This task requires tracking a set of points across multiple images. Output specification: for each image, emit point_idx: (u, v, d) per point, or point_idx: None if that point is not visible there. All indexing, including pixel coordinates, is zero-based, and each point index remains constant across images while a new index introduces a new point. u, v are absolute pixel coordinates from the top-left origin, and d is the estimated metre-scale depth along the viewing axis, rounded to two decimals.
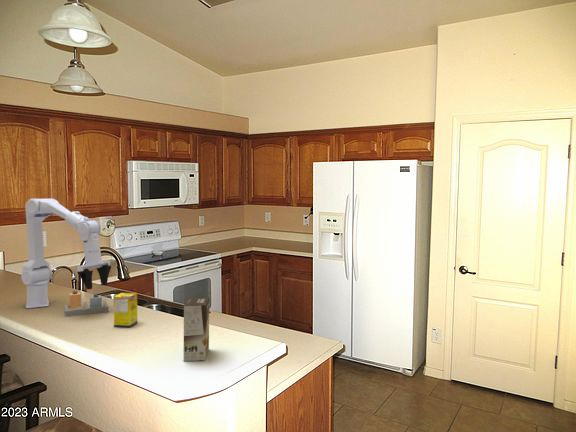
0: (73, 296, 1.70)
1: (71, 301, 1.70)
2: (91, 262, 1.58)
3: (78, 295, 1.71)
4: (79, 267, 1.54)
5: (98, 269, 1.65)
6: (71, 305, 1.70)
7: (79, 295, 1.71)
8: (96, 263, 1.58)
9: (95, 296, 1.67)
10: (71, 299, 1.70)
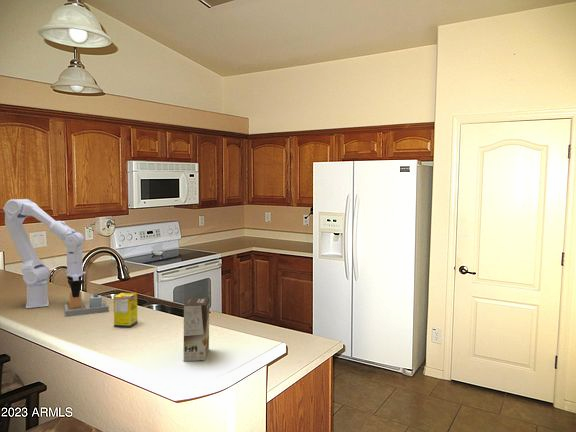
0: None
1: (71, 301, 1.70)
2: (78, 272, 1.70)
3: None
4: (76, 277, 1.66)
5: (69, 278, 1.74)
6: (71, 305, 1.70)
7: (79, 295, 1.71)
8: (82, 273, 1.72)
9: (95, 296, 1.67)
10: (71, 299, 1.70)
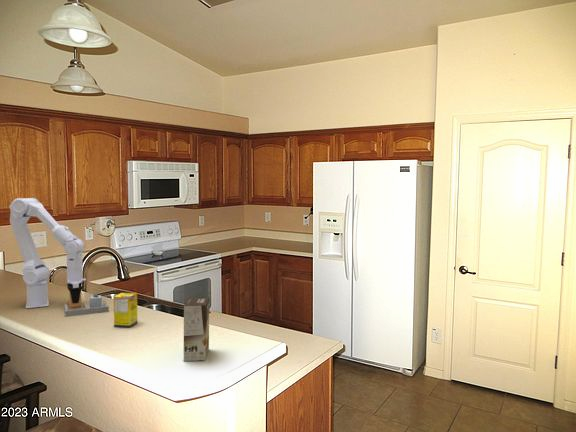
0: None
1: (71, 301, 1.70)
2: (78, 279, 1.70)
3: None
4: (76, 284, 1.66)
5: (69, 285, 1.73)
6: (71, 305, 1.70)
7: None
8: (82, 279, 1.72)
9: (95, 296, 1.67)
10: (71, 299, 1.70)
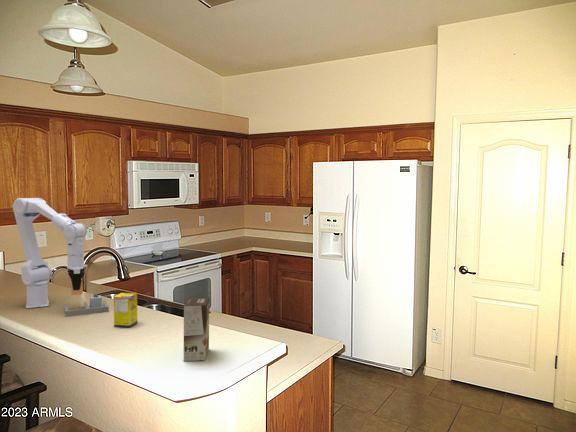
0: None
1: (72, 288, 1.63)
2: (80, 264, 1.63)
3: None
4: (77, 269, 1.58)
5: (70, 272, 1.66)
6: (72, 292, 1.63)
7: (81, 282, 1.64)
8: (83, 265, 1.65)
9: (95, 296, 1.67)
10: (72, 286, 1.63)
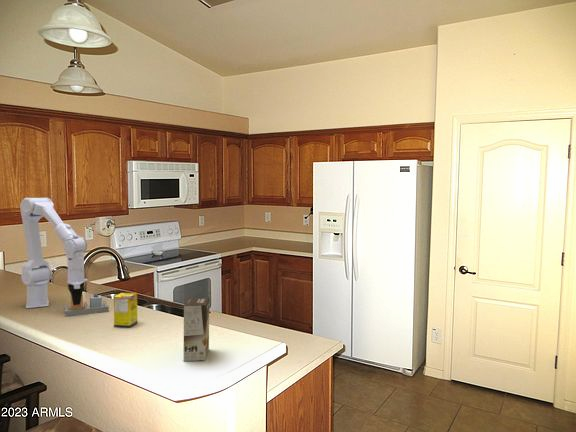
0: None
1: None
2: (80, 279, 1.62)
3: None
4: (77, 284, 1.58)
5: (70, 286, 1.65)
6: (73, 307, 1.62)
7: (81, 297, 1.63)
8: (83, 280, 1.64)
9: (95, 296, 1.67)
10: (72, 301, 1.62)
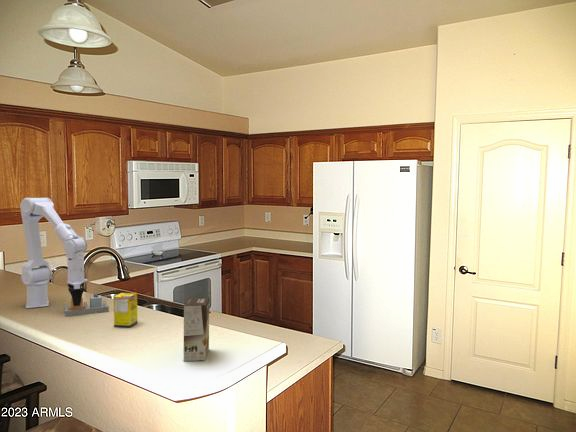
0: None
1: (73, 306, 1.62)
2: (80, 279, 1.62)
3: None
4: (77, 285, 1.58)
5: (70, 285, 1.66)
6: None
7: (81, 300, 1.64)
8: (83, 280, 1.64)
9: (95, 296, 1.67)
10: (72, 304, 1.62)
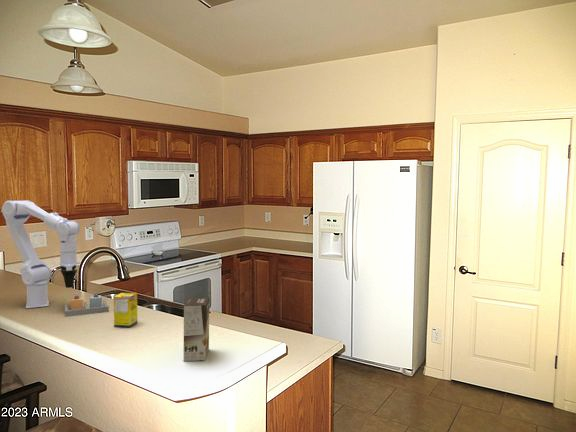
0: (75, 301, 1.62)
1: (73, 306, 1.62)
2: (72, 262, 1.66)
3: (80, 300, 1.63)
4: (69, 266, 1.61)
5: (63, 268, 1.70)
6: None
7: (81, 300, 1.64)
8: (76, 263, 1.67)
9: (95, 296, 1.67)
10: (72, 304, 1.62)
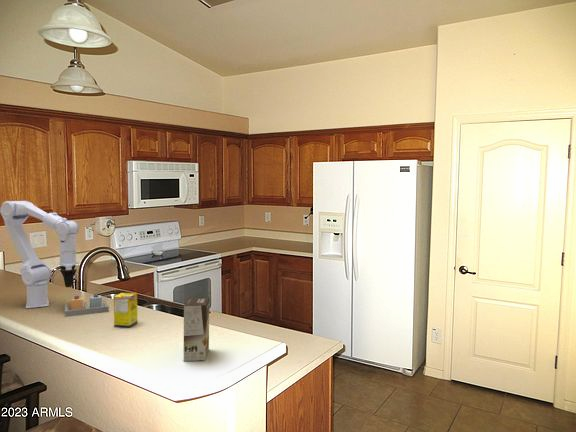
0: (75, 301, 1.62)
1: (73, 306, 1.62)
2: (72, 261, 1.66)
3: (80, 300, 1.63)
4: (69, 266, 1.61)
5: (62, 268, 1.70)
6: None
7: (81, 300, 1.64)
8: (75, 262, 1.68)
9: (95, 296, 1.67)
10: (72, 304, 1.62)
